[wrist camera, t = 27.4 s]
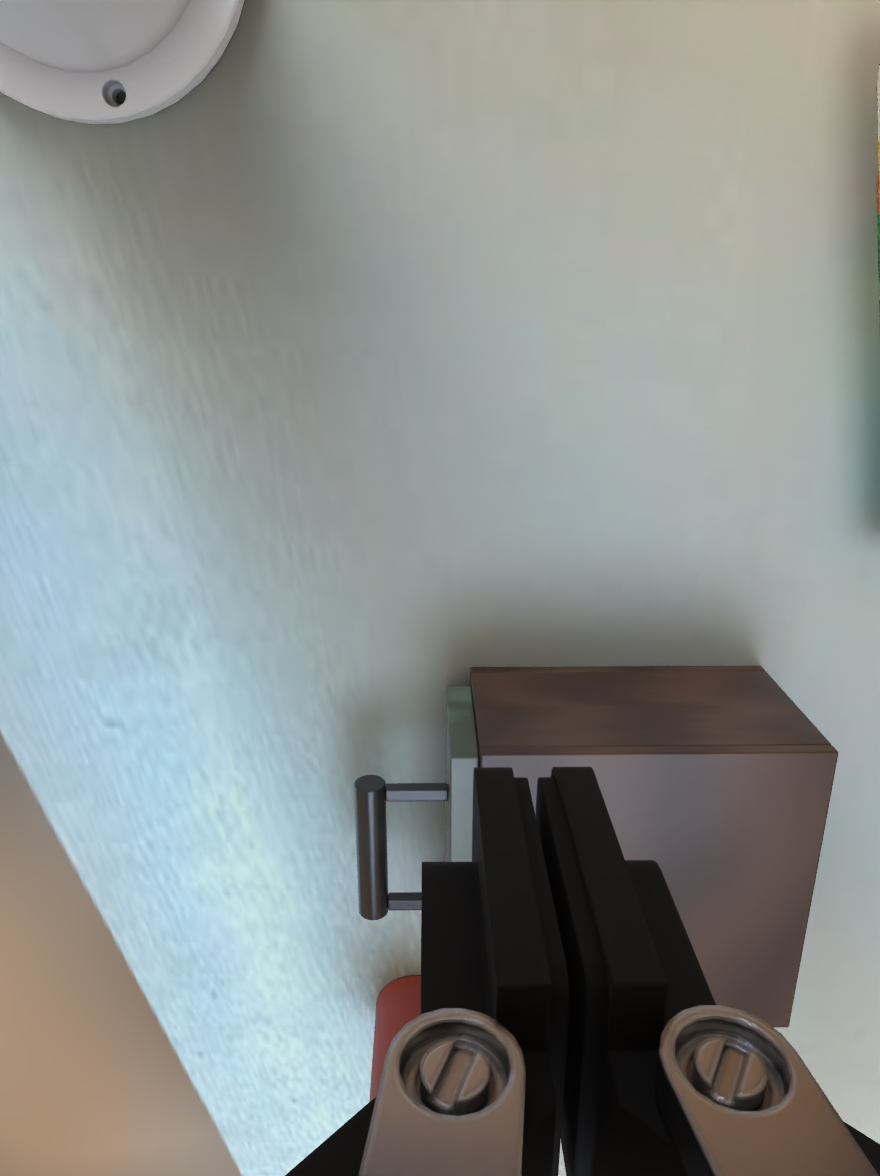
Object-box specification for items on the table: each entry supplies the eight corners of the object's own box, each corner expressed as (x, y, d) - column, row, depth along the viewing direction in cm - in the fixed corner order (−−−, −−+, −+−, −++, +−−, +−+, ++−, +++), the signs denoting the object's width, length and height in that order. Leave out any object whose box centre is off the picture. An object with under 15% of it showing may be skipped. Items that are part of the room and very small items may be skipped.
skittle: (366, 1024, 48) (344, 1287, 35) (391, 966, 47) (377, 1219, 34) (438, 1043, 49) (442, 1309, 36) (464, 987, 47) (479, 1243, 34)
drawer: (366, 907, 44) (356, 1008, 38) (358, 685, 40) (346, 758, 34) (694, 904, 45) (738, 1004, 38) (722, 683, 40) (776, 755, 34)
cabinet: (466, 905, 45) (475, 1031, 38) (470, 667, 41) (480, 754, 33) (727, 903, 46) (788, 1027, 38) (761, 665, 41) (839, 752, 33)
